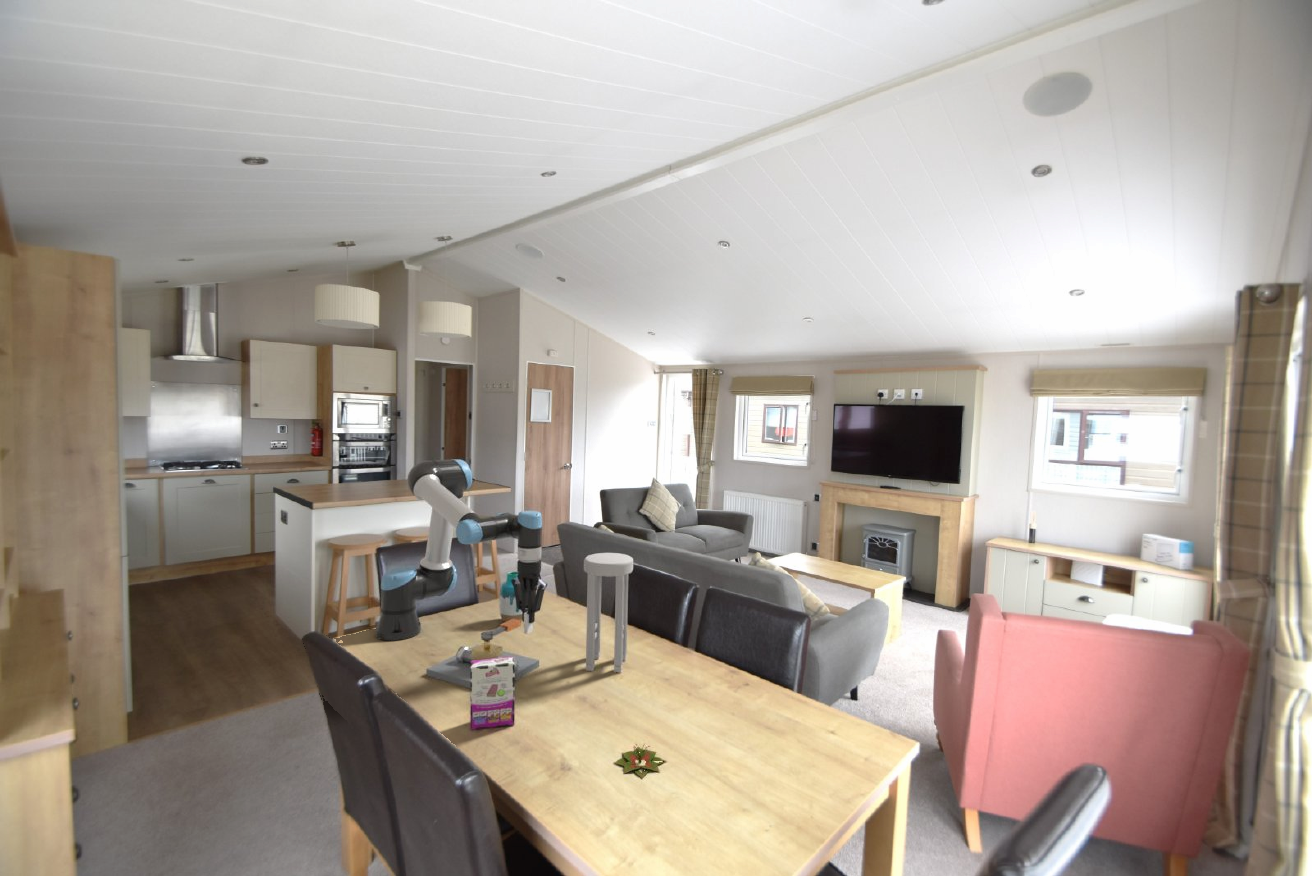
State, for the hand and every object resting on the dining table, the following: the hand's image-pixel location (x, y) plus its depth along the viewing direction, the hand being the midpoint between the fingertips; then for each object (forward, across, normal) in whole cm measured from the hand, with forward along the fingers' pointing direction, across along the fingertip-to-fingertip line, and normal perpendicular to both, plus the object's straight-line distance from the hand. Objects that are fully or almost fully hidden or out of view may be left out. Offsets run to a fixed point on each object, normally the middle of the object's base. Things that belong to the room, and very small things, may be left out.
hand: (528, 632), depth 189 cm
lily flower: (+11, +57, -30) cm, 65 cm away
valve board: (+11, -9, -10) cm, 17 cm away
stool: (+11, +22, +13) cm, 28 cm away
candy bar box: (+11, +15, -33) cm, 38 cm away
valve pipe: (+9, -7, -11) cm, 16 cm away
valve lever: (0, -7, -5) cm, 9 cm away
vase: (+11, -30, +29) cm, 43 cm away
